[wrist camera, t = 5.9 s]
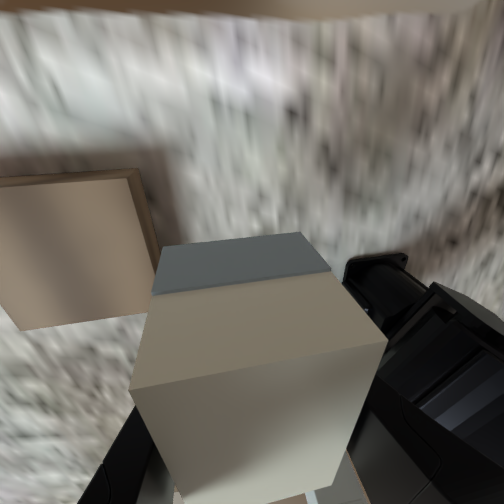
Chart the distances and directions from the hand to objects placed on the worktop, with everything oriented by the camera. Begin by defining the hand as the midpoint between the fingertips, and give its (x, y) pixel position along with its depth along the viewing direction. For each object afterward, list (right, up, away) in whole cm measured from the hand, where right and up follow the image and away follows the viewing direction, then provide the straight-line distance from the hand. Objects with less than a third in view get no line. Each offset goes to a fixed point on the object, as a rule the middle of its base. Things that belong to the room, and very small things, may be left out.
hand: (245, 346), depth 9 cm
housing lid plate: (0, -1, -1) cm, 1 cm away
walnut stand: (-12, +4, +9) cm, 15 cm away
